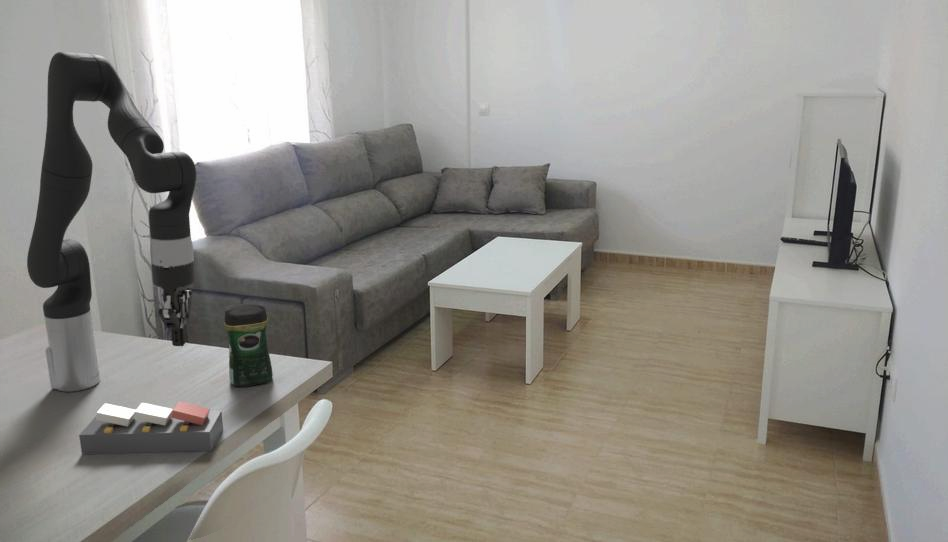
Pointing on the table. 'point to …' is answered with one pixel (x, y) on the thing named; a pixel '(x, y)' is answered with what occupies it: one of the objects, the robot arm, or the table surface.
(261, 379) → the coffee jar
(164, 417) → the block
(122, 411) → the rocker
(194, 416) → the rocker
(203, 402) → the table surface
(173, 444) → the switch panel
